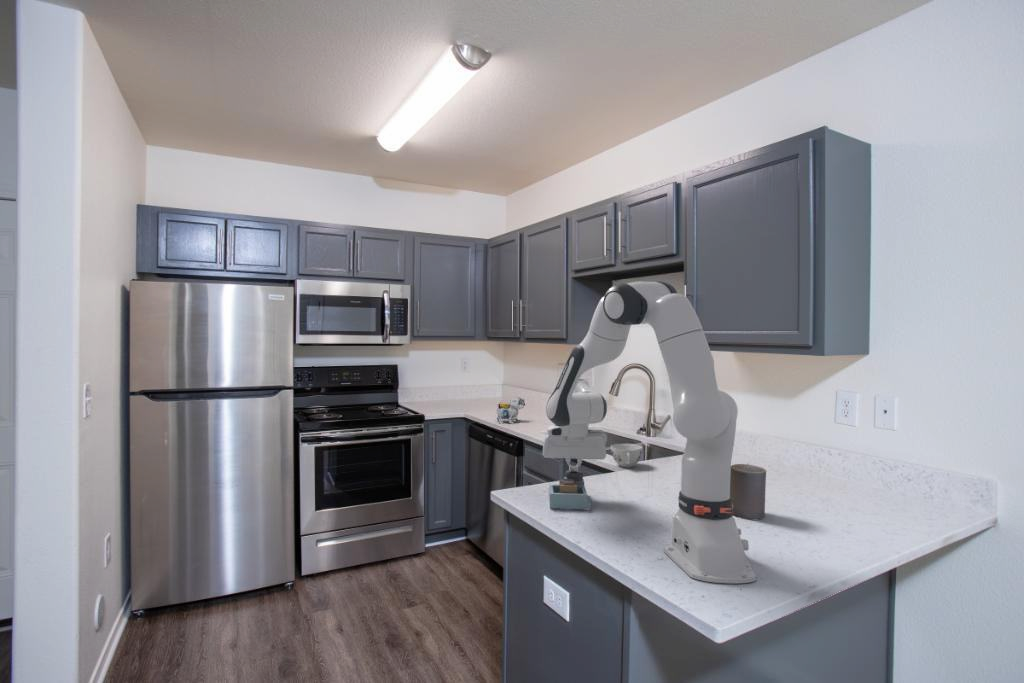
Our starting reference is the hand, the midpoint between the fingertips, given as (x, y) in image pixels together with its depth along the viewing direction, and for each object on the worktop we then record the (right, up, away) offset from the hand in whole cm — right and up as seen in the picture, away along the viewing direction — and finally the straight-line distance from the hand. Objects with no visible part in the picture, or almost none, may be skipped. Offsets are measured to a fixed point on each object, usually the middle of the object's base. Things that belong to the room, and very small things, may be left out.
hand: (573, 472), depth 169 cm
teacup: (+26, -8, +40) cm, 48 cm away
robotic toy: (-21, -6, +140) cm, 142 cm away
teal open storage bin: (-2, -8, -5) cm, 9 cm away
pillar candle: (+49, -9, -14) cm, 52 cm away
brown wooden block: (-3, -6, -8) cm, 11 cm away
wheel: (0, -5, 0) cm, 5 cm away
